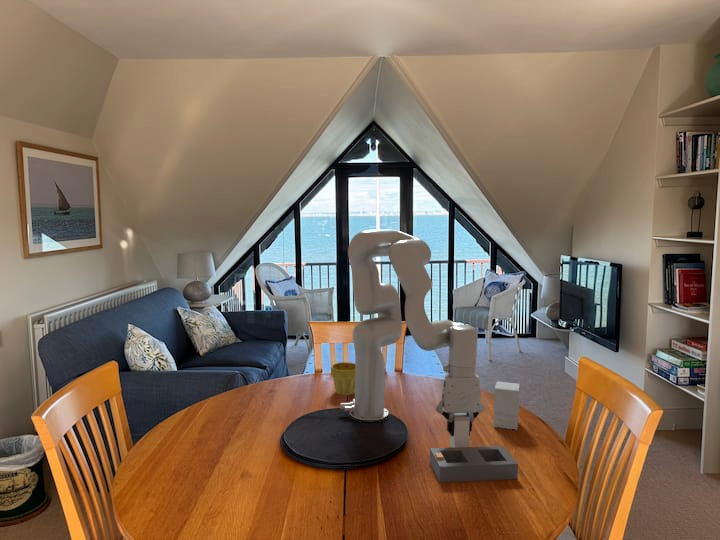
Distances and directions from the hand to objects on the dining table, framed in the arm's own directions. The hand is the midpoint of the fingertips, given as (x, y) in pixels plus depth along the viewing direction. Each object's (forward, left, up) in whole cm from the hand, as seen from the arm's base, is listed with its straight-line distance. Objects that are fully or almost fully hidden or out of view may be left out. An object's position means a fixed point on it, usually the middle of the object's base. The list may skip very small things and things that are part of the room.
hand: (459, 433), depth 148 cm
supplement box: (+20, +16, -5) cm, 26 cm away
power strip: (0, -12, -5) cm, 13 cm away
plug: (0, 0, -5) cm, 5 cm away
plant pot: (-28, +48, -5) cm, 56 cm away
